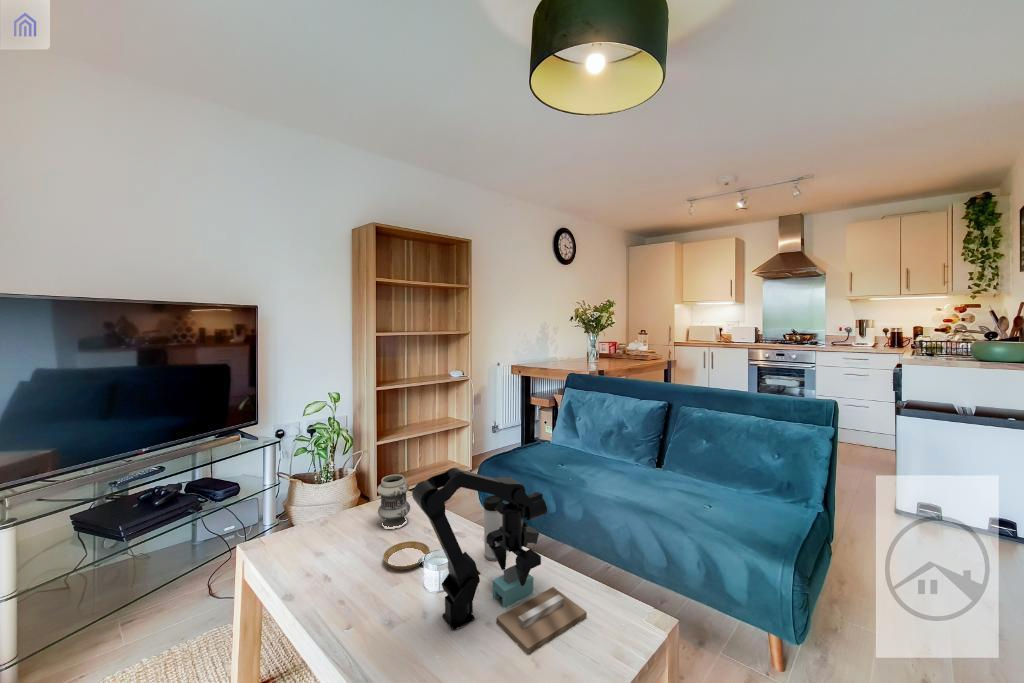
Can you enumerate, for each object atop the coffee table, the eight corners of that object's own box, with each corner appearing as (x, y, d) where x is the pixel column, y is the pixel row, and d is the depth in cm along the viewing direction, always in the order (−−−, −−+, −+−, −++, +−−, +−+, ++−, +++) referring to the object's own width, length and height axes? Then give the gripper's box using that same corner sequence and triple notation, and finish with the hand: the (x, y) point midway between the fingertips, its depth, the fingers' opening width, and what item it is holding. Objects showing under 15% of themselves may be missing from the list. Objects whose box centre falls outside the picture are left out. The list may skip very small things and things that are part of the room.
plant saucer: (405, 544, 148) (405, 537, 148) (438, 555, 142) (438, 547, 141) (373, 566, 135) (373, 558, 135) (408, 579, 128) (408, 571, 128)
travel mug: (502, 562, 136) (501, 502, 135) (482, 560, 138) (481, 500, 136) (506, 551, 142) (505, 494, 141) (487, 549, 144) (486, 492, 143)
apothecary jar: (385, 515, 169) (384, 471, 168) (414, 516, 168) (413, 472, 167) (372, 530, 157) (371, 483, 156) (404, 532, 156) (402, 484, 155)
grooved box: (505, 608, 115) (504, 580, 114) (492, 597, 120) (492, 570, 119) (533, 593, 121) (533, 567, 120) (520, 583, 126) (520, 557, 125)
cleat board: (527, 654, 99) (527, 640, 99) (496, 622, 110) (496, 609, 109) (586, 617, 111) (586, 604, 111) (553, 591, 122) (553, 580, 121)
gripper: (555, 528, 116) (555, 582, 117) (514, 504, 131) (515, 552, 132) (524, 541, 110) (524, 599, 111) (485, 515, 125) (485, 565, 126)
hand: (512, 577), depth 120 cm, fingers open, 9 cm apart
